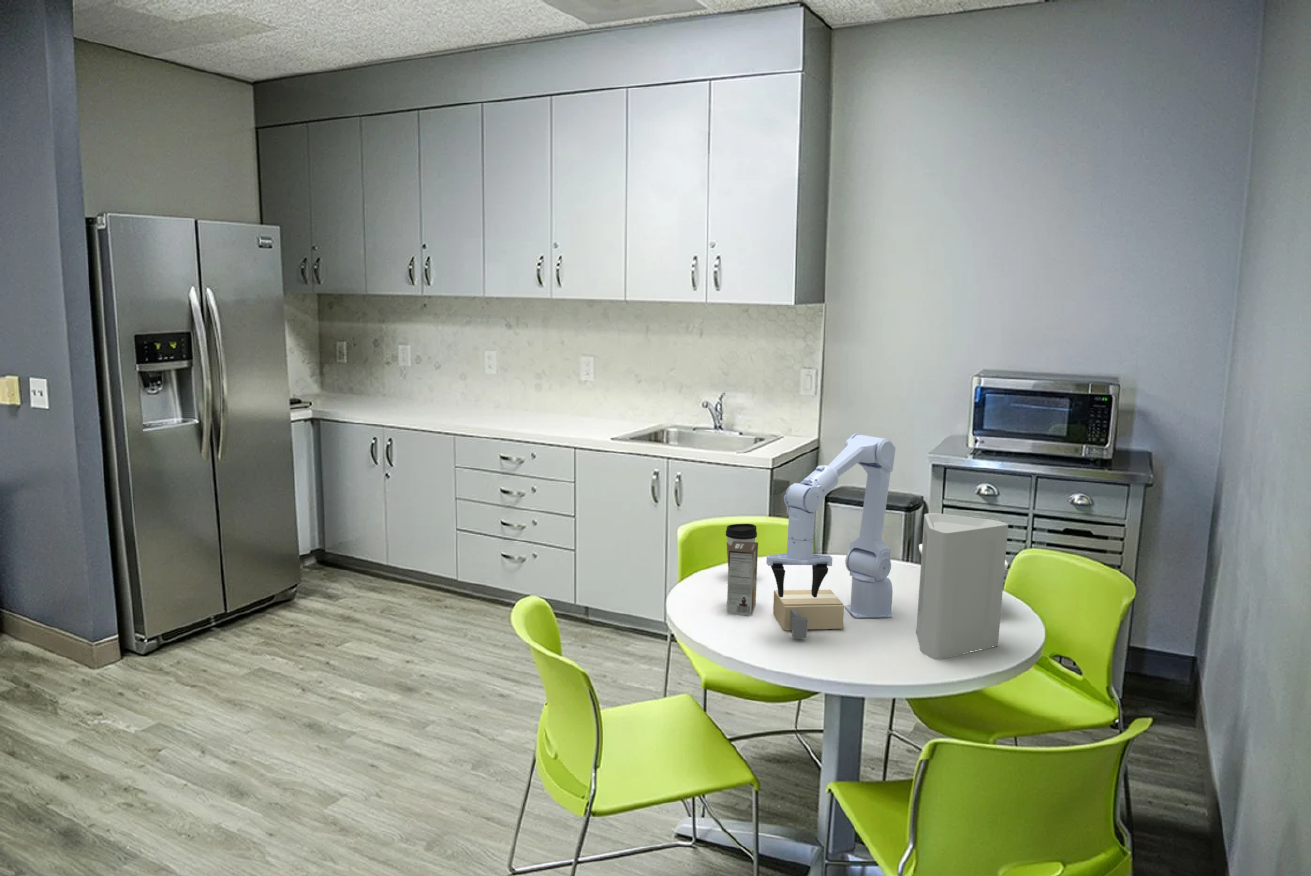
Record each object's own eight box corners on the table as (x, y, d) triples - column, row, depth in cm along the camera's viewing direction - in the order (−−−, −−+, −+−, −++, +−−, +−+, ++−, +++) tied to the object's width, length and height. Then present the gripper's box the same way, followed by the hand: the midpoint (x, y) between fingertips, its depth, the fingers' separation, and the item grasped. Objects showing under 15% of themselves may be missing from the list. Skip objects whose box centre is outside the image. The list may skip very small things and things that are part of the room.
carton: (829, 613, 226) (830, 589, 225) (841, 628, 216) (843, 603, 215) (773, 614, 225) (774, 589, 224) (782, 629, 215) (783, 603, 214)
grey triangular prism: (950, 624, 220) (959, 509, 216) (999, 645, 208) (1010, 524, 203) (888, 636, 212) (896, 517, 207) (935, 659, 199) (945, 533, 194)
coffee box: (730, 601, 233) (732, 539, 230) (756, 604, 232) (758, 541, 229) (726, 614, 224) (728, 549, 221) (752, 616, 223) (755, 552, 220)
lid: (842, 627, 216) (843, 604, 215) (852, 639, 209) (853, 616, 208) (783, 628, 214) (784, 605, 213) (791, 640, 207) (792, 617, 206)
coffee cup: (756, 584, 247) (758, 530, 244) (724, 584, 247) (726, 529, 244) (753, 575, 255) (755, 522, 253) (723, 574, 255) (724, 521, 253)
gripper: (772, 541, 202) (769, 601, 204) (837, 542, 203) (833, 601, 205) (765, 533, 209) (762, 591, 211) (828, 534, 210) (825, 591, 212)
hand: (797, 595), depth 209 cm, fingers open, 7 cm apart
